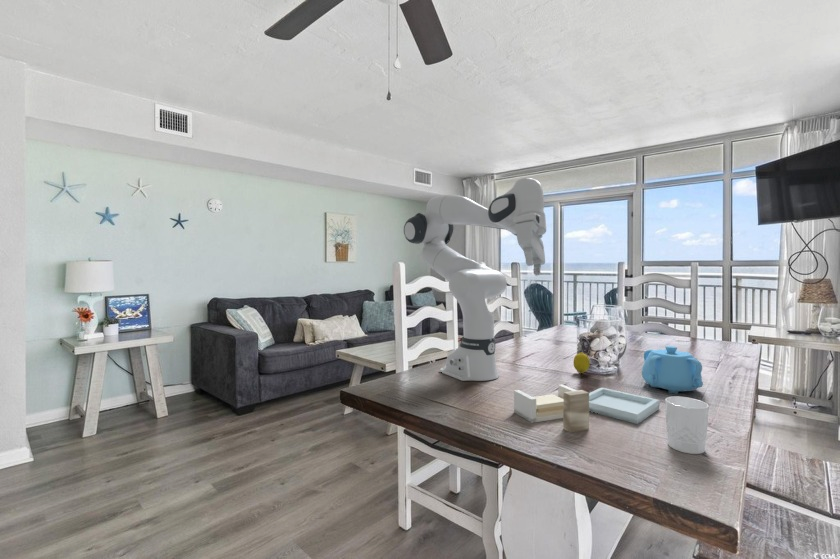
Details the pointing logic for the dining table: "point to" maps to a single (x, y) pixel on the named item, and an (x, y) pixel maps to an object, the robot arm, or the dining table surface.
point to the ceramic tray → (622, 405)
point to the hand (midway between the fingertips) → (533, 270)
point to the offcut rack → (540, 405)
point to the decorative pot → (672, 370)
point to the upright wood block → (576, 411)
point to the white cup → (686, 424)
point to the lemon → (581, 362)
